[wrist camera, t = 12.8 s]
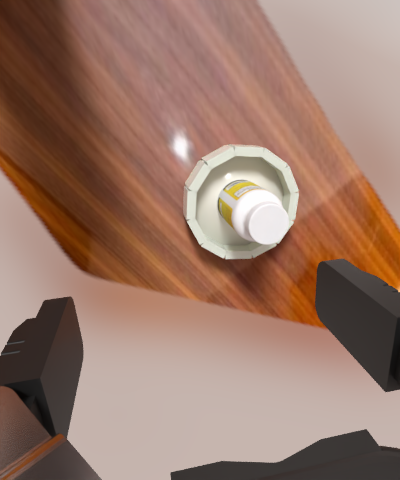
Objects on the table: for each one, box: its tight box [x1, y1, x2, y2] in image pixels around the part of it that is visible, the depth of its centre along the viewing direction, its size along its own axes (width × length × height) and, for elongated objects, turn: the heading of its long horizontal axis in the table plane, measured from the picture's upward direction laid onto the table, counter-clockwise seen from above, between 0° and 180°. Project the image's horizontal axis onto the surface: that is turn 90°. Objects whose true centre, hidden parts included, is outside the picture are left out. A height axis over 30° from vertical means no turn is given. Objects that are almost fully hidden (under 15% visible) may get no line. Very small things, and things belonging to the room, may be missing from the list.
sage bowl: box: [183, 144, 299, 259], centre depth 41 cm, size 13×13×3 cm
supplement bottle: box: [217, 180, 289, 245], centre depth 37 cm, size 5×5×10 cm
